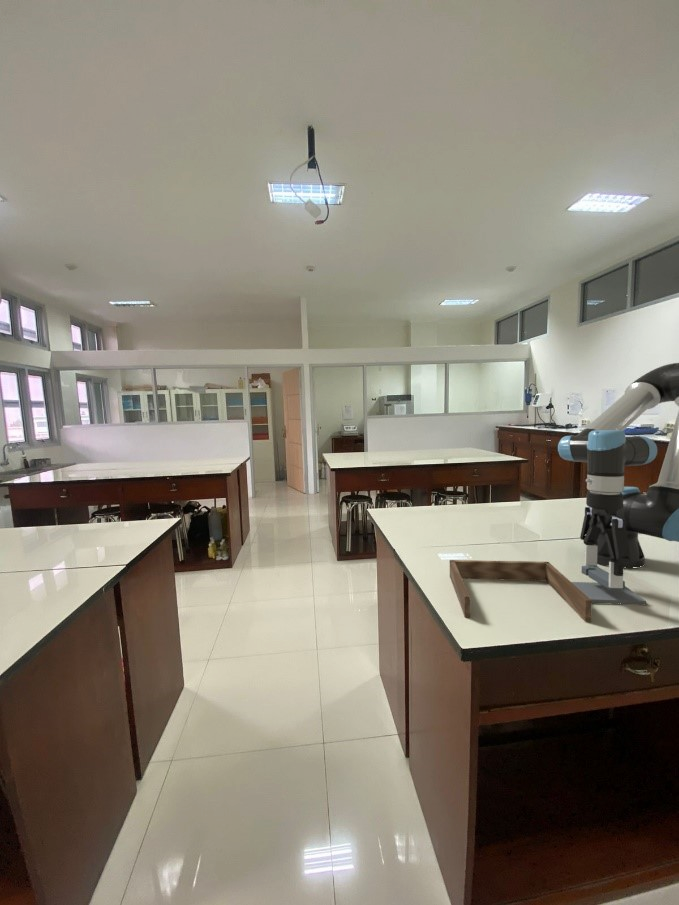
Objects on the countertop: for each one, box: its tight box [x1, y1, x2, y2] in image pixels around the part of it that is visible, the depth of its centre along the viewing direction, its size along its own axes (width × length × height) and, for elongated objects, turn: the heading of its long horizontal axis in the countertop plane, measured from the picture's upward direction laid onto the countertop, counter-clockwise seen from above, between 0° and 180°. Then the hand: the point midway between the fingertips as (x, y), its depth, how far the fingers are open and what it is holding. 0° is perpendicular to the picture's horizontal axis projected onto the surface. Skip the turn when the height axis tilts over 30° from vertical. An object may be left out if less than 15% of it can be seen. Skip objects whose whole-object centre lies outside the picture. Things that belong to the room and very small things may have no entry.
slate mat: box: [571, 581, 647, 605], centre depth 94 cm, size 14×10×1 cm
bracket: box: [581, 565, 626, 589], centre depth 94 cm, size 4×10×2 cm, turn 0°
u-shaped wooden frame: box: [449, 559, 593, 623], centre depth 95 cm, size 27×23×5 cm
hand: (602, 577), depth 94 cm, fingers closed on bracket, 10 cm apart
